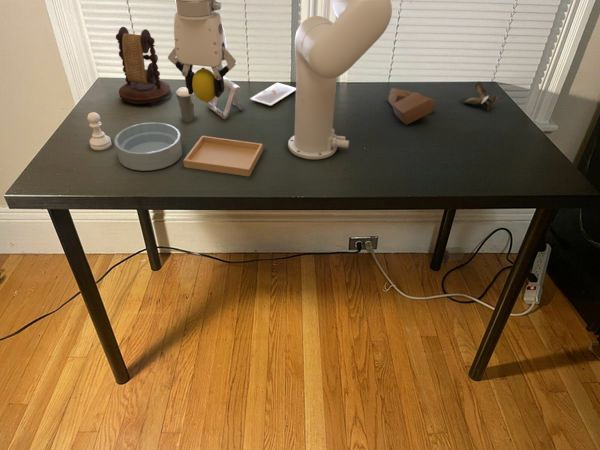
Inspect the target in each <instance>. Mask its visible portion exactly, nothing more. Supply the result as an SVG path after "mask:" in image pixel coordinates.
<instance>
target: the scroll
mask: <svg viewBox="0 0 600 450" xmlns="http://www.w3.org/2000/svg"><path fill="white" fill-rule="evenodd" d="M115 40H117V44H118V50H119V51H118V57H119V58H120V59H121V60H122V64H121V65H122V66H123V67H122V71H123V73H124V76H125V82H126V83H125V84H123V85H122V86H121V87H120V88H119V89H118V95H119V98H120V99H121V101H122V103H131V104H141V105H142V104H151V106H152V107H155V105H156V102H160V101H163V100H165V99H167V98H168V97H169V96H170V95H171V92H172V91H171V90H172V89H171V86H170V85H169V84H168V83H167V82H165V81H163V80H161V77H160V76H161V73H160V72H161V71H159V66H158V64H157V63H158V61H159V56H158V55H157V54H156V49H155V43H156V41H155V38H154V37H152V36H151V32H150V31H149V30H148V29H146V28H145V29H143V30H141V33H140V34H134V33H130V32H129V30H128V28H127V27H125V26H120V28H119V30H118V32H117V33H116V35H115ZM148 53H150V55H149V54H148ZM145 60H147V61H150V62H149V64H148V65H147V68H146V67H145Z"/></svg>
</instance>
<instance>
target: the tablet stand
mask: <svg viewBox="0 0 600 450" xmlns="http://www.w3.org/2000/svg"><path fill="white" fill-rule="evenodd" d="M223 79H224V90H225V91H226V93H227V95H228V97H227V101H226V104H225V107H224V110H223V111H222V110H221V109H220V108H219V107H217V106H218V103H219V98H220V97H219V98H218V97H216V96H215V98H214V99H212V102H211V101H209V102H208V103H206V106H207V108H208V109H210V110H211V112H214V113H215V114H216V115H217V116H219V117H220V118H221V119H222V120H226V119H228V116H229V113H230V110H231V106H232V105H233V106H234V107H237V108H238V110H240V111H243V108H242V106H241V104H240V102H239V100H238V99H237V97H236V95H240V94H241V93H242V88H241V87H240V86H239V85H238V84H236V83H235V82H234V81H231V80H230V79H229V78H227V77H225V76H224V77H223Z"/></svg>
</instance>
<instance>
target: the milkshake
mask: <svg viewBox="0 0 600 450" xmlns="http://www.w3.org/2000/svg"><path fill="white" fill-rule="evenodd" d="M175 95H176V97H177V101H178V106H179V109H180V114H181V115H180V116H181V120H182V121H183V122H185V123H191V122H193V121H195V100H194V99H195V97H194V95H195V94H194V93H193V94H189V93H188V89H187V88H186V86H181V87H179V88H178V89H177V90H176V92H175Z"/></svg>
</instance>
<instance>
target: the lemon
mask: <svg viewBox="0 0 600 450" xmlns="http://www.w3.org/2000/svg"><path fill="white" fill-rule="evenodd" d="M194 73H195V74H194V76H193V80H192V87H193V91H194V95H195V97H196V98H197V99H198V100H199V101H202V102H204V103H206V104H207V103H208V102H211V101H213V100H214V98H215V88H214V80H215V79H216V78H215V75H214V73H213V71H212V70H209V69H207V68H205V67H201V68H199V69H197V70H196V71H195V72H194Z"/></svg>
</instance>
